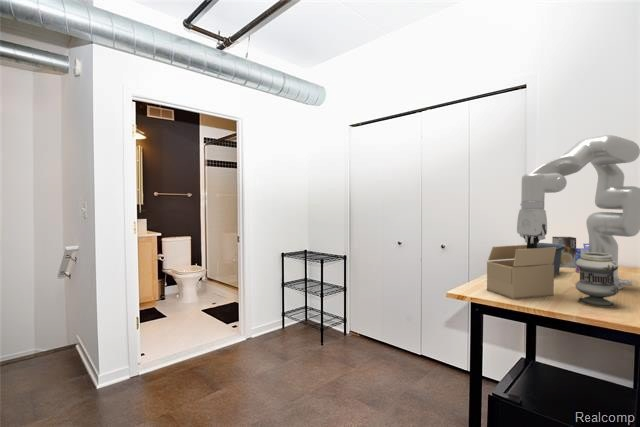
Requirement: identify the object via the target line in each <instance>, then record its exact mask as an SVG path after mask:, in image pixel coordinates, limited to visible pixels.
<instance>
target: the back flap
mask: <svg viewBox="0 0 640 427" xmlns="http://www.w3.org/2000/svg"><path fill="white" fill-rule="evenodd" d="M517 249H527V244H515V245H514V244H511V245H497V246H492V248H491V250H490V253H489V256H488V259H487V261H501V260H514V258H515V252H516V250H517Z"/></svg>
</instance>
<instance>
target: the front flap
mask: <svg viewBox="0 0 640 427" xmlns="http://www.w3.org/2000/svg"><path fill="white" fill-rule="evenodd" d="M555 252H556V247H548V248H533V249H517V250H516V252H515V258H514V259H513V260H514V265H513V266H527V265H540V264H553V263H554V257H555Z"/></svg>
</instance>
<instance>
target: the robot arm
mask: <svg viewBox="0 0 640 427" xmlns="http://www.w3.org/2000/svg"><path fill="white" fill-rule="evenodd" d="M639 157H640V146H639V144H638V143H637V142H635V141H633V140H631V139H628V138H623V137H621V136H617V135H613V134H612V135H611V134H607V135H600V136H594V137H588V138H584V139H581V140H580V141H578V142H577V143H576V144H575V145H574V146H572V147H571V148H570V149H569V150H568V151H566V152H564V154H563V155H562V156H559V157H557V158H555V159H553V160H551V161H549V162H546V163H544V164H542V165H541V166H539V167H537V168H535V169H534V170H533V171H532V172H531V173H527V174H523V176H522V178H521V203H520V207H521V208H520V209H519V210H518V216H517V222H516V233H517V234H519V237H520V238H523V239H524V241H525V244H526V245H527V249H533V248H537V243H540V241H541V240H546V235H547V234H548V219H547V212H546V209H545V196H546V195H545V194H549V193H550V194H551V193H553V194H554V193H559V192H561V191H563V190H564V189H565V188H566V186H567V178H566V177H567V176H570V175H574V174H575V173H578V172H580V171H581V170H582V169H583V168H585V167H586V165H588V164H589V163H590V164H591V165H592V166H593V167H594V169H595V171H596V172H597V183H596V190H595V195H594V204H595V206H596V207H597V208H598V209H602V210H619V211H621V210H622V212H615V211H613V212H612V211H611V212H610V211H607V212H606V211H598V212H594V213H592V214H589V215H588V217H587V218H586V229H587V233H588V244H589V245H588V246H589V252H595V253H606V254H611V255H612V259H613V261H615V262H616V263H617V264H618V265H619V244H618V242H617V240H616V238H615V237H627V238H628V237H635V236H637V235H638V234H639V233H640V187H638V186H633V185H631V186H629V185H625V186H624V182H625V173H624V171H623V170H622V169H621V168H620V166H619V165H620V164H629V163H632V162H635V161H636V160H637V159H638V158H639ZM618 164H619V165H618ZM618 269H619V268H618ZM618 269H617V270H615V271H614V284H615V285H616V286H617V287H618V289H619V290H622V289H623V286H627V287H632V286H633V281H632V280H627V279H621V278H620V276H619V275H618V273H619V271H618Z"/></svg>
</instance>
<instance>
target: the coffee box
mask: <svg viewBox="0 0 640 427" xmlns="http://www.w3.org/2000/svg"><path fill="white" fill-rule="evenodd" d="M551 243H552V244H562V245H565V246H564V250H562V251H561V260H560V268H576V250H575V248H577V237H574V236H552V238H551Z"/></svg>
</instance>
